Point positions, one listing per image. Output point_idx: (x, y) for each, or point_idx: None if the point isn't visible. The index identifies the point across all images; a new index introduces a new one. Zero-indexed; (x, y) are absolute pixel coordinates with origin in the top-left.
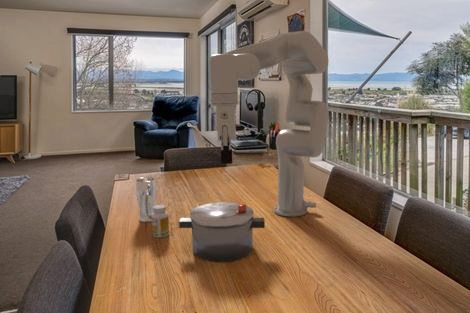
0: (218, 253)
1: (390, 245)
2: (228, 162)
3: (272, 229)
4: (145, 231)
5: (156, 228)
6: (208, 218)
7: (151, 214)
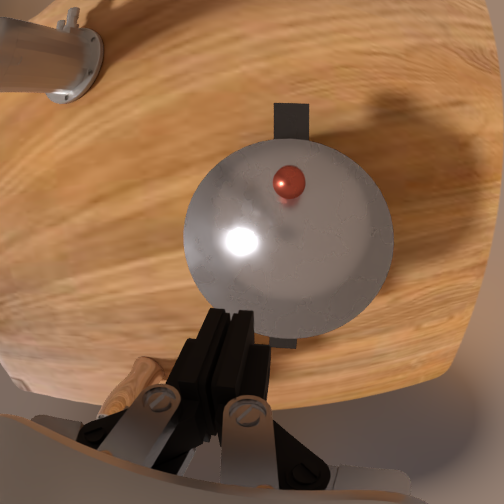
0: None
1: None
2: (253, 335)
3: (174, 91)
4: None
5: None
6: (345, 289)
7: (151, 372)
